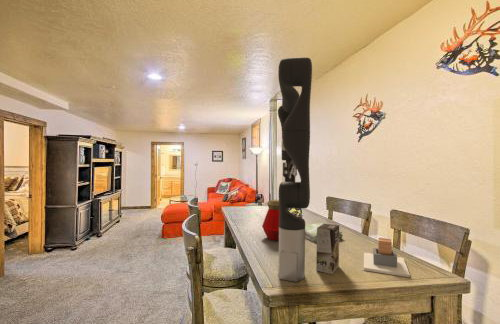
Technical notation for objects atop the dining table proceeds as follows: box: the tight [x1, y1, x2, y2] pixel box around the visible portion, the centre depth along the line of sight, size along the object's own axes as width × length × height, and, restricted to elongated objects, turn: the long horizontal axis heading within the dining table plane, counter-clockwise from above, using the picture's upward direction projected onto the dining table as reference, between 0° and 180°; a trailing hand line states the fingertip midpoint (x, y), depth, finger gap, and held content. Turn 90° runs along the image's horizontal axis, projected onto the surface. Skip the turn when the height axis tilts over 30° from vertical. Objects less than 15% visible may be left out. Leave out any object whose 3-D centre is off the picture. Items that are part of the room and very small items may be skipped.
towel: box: [305, 222, 343, 243], centre depth 147 cm, size 18×21×5 cm
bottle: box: [262, 199, 279, 242], centre depth 141 cm, size 16×14×20 cm
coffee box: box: [315, 223, 340, 275], centre depth 102 cm, size 9×6×16 cm
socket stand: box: [363, 247, 411, 278], centre depth 107 cm, size 18×15×5 cm
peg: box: [377, 237, 393, 256], centre depth 106 cm, size 4×4×9 cm
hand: (290, 185), depth 121 cm, fingers open, 8 cm apart
